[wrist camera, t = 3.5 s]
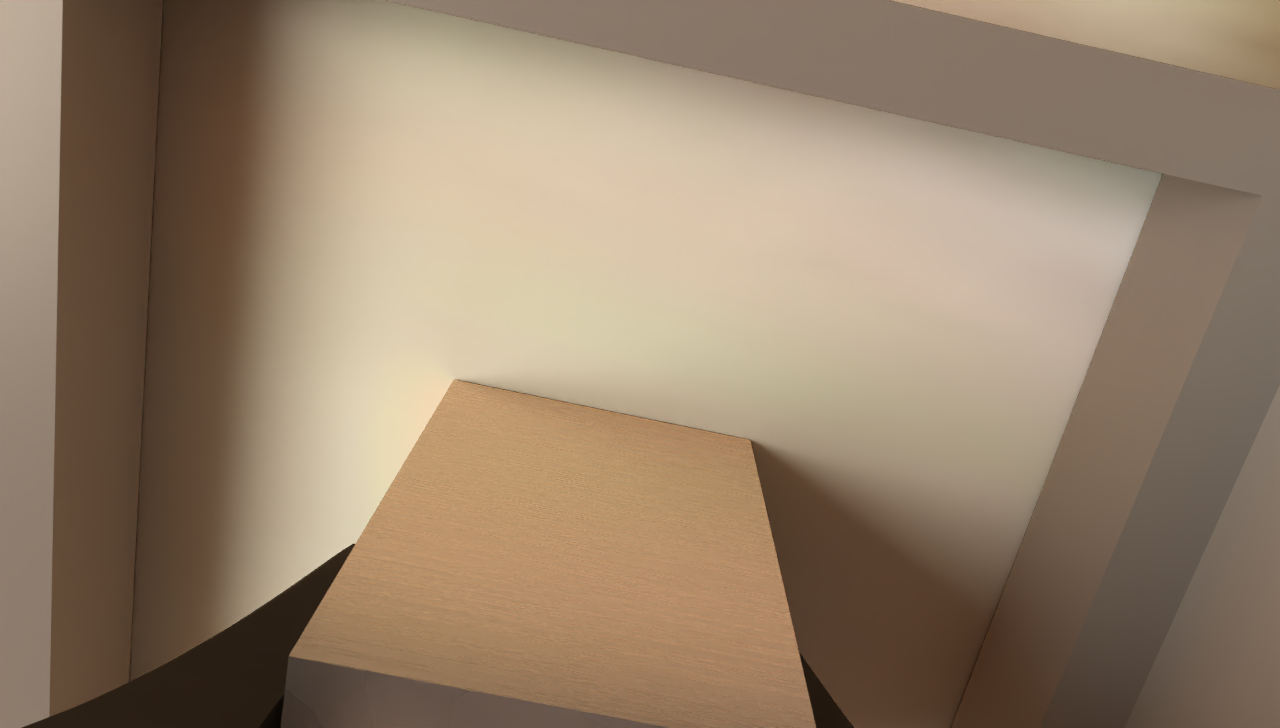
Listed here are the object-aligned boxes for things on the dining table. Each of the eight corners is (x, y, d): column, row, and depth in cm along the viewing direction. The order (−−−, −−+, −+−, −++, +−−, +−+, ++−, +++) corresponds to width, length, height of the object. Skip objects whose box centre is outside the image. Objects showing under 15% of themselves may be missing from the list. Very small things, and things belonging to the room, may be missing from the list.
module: (668, 741, 14) (675, 1195, 9) (404, 691, 14) (236, 1124, 9) (750, 440, 13) (823, 756, 7) (454, 379, 13) (289, 656, 7)
